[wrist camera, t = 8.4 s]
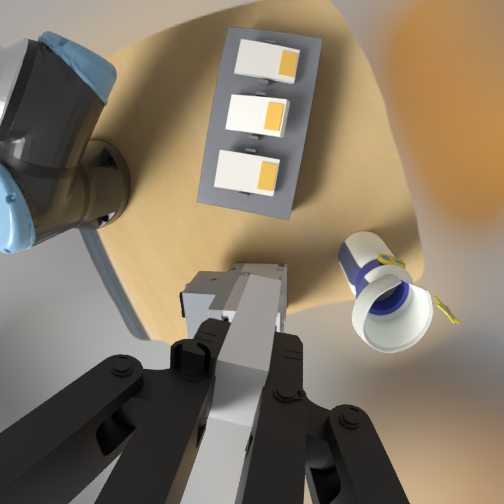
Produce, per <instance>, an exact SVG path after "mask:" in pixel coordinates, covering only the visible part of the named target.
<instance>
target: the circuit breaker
mask: <svg viewBox="0 0 504 504" xmlns="http://www.w3.org/2000/svg"><path fill="white" fill-rule="evenodd" d="M250 274H252V275H257V276H261V277H266V278H271V279H275V280H280V281H281V288H280V295H279V303H278V310H277V317H276V324H275V331H276V332H281V333H284V323H285V321H286V309H287V264H284V266H278V264H255V263H234V264H233V266H232V267H231V269H230V271H229V272H211V271H199V272H198V273H197V275H196V276H195V277H194V278H193V280H192V281H191V282H190V283H189V284H186V285H185V290H184V291H183V292H181V293H180V302H181V308H182V311H181V312H182V317H185V318H186V324H187V331H188V337H189V339H193V338H194V335H195V334H196V332H197V330H198V328H199V326H200V325H201V323H202V322H204V321H205V320H207V319H208V318H214V319H218V320H223V321H227V322H231V323H232V320H233V318H234V315H235V312H236V310H237V307H238V305H239V302H240V299H241V297H242V294H243V292H244V289H245V287H246V284H247V281H248V279H249V276H250Z"/></svg>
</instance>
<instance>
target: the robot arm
mask: <svg viewBox="0 0 504 504" xmlns="http://www.w3.org/2000/svg"><path fill="white" fill-rule="evenodd" d="M116 78H117V72H116V69H115V67H114V66H113V65H112V64H111V63H110V62H108V61H107V60H105V59H104V58H102V57H101V56H99V55H97V54H95V53H94V52H92V51H90V50H89V49H87V48H85V47H83V46H81V45H79V44H77V43H75V42H73V41H70V40H68V39H66V38H64V37H62V36H60V35H58V34H56V33H53V32H50V31H46V32H44V33H43V34H42V35H41V36H39V38H38V41H34V40H30V39H26V38H24V39H22V40H21V41H19V42H17V43H15V44H14V45H12V46H10V47H7V48H4V47H0V251H1V252H3V253H7V254H13V253H16V252H19V251H21V250H24V249H30V248H32V247H33V246H35V245H37V244H39V243H41V242H43V241H45V240H48V239H50V238H52V237H54V236H56V235H58V234H61V233H63V232H65V231H67V230H69V229H72V228H77V229H88V230H93V229H99V228H102V227H104V226H106V225H109V224H111V223H112V222H114V221H115V220H116V219H117V218H118V217H119V216H120V215H121V213H122V212H123V210H124V208H125V206H126V204H127V201H128V197H129V191H130V178H129V172H128V168H127V165H126V163H125V161H124V159H123V157H122V155H121V154H120V153H119V151H118V150H117V149H116V148H115V147H113V146H112V145H111V144H109V143H107V142H104V141H98V140H94V141H89V140H90V137H91V135H92V133H93V130H94V128H95V126H96V123H97V121H98V119H99V117H100V115H101V112H102V110H103V108H104V106H106V105H107V102H108V101H107V99H108V97H109V94H110V92H111V90H112V88H113V86H114V83H115V81H116ZM280 288H281V281H280V280H275V279H271V278H266V277H261V276H257V275H252V274H250V276H249V279H248V281H247V284H246V287H245V289H244V292H243V294H242V297H241V299H240V302H239V305H238V307H237V310H236V312H235V315H234V318H233V320H232V323H231V322H227V321H223V320H218V319H214V318H208V319H207V320H205V321H204V322H202V323H201V325H200V326H199V328H198V330H197V332H196V334H195V335H194V338H193V339H182V340H180V341H177V342H175V343H174V344H173V345H172V346H171V356H170V368H169V369H164V370H151V369H143V367H142V365H141V363H140V361H138V360H137V359H136V358H134V357H132V356H129V355H122V354H120V355H113V356H111V357H108V358H107V359H105V360H104V361H102V362H101V363H99V364H98V365H96V366H95V367H94V368H92V369H91V370H89V371H88V372H86V373H85V374H84V375H82V376H81V377H79V378H78V379H77V380H75V381H74V382H72V383H71V384H69V385H68V386H67V387H65V388H64V389H63V390H61V391H59V392H58V393H57V394H55V395H54V396H53V397H51V398H50V399H48V400H47V401H45V402H44V403H43V404H41V405H40V406H38V407H37V408H35V409H34V410H33V411H31V412H30V413H28V414H27V415H25V416H24V417H23V418H21V419H20V420H19V421H17V422H15V423H14V424H13V425H11V426H10V427H8V428H7V429H5V430H4V431H3V432H1V433H0V504H68V503H69V502H70V501H71V500H72V499H74V498H75V497H76V496H77V495H78V494H79V493H80V492H81V491H82V490H83V489H84V488H85V487H86V486H87V485H89V484H90V483H91V482H92V481H93V480H94V479H95V478H96V477H97V476H98V475H99V474H100V473H101V472H102V471H103V470H104V469H105V468H106V467H107V466H108V465H109V464H110V463H111V462H112V461H113V460H114V459H115V458H116V457H117V456H118V455H119V454H121V453H122V454H121V456H120V458H119V460H118V461H117V463H116V465H115V467H114V468H113V470H112V472H111V474H110V476H109V477H108V479H107V481H106V483H105V485H104V487H103V488H102V490H101V492H100V494H99V496H98V498H97V499H96V501H95V503H94V504H180V502H181V499H182V496H183V493H184V490H185V487H186V485H187V482H188V479H189V476H190V473H191V470H192V467H193V464H194V462H195V459H196V456H197V453H198V450H199V447H200V444H201V441H202V439H203V436H204V433H205V430H206V423H207V419H208V416H209V417H211V418H215V419H218V420H222V421H227V422H231V423H235V424H240V425H244V426H250V427H252V431H251V434H250V437H249V440H248V443H247V446H246V449H245V451H246V454H245V459H244V464H243V468H242V473H241V477H240V482H239V487H238V491H237V496H236V501H235V504H303V501H304V484H305V476H306V479H307V483H308V487H309V491H310V495H311V499H312V503H313V504H410V503H409V501H408V499H407V497H406V494H405V492H404V490H403V488H402V485H401V483H400V481H399V479H398V477H397V474H396V472H395V470H394V468H393V466H392V464H391V462H390V459H389V457H388V455H387V453H386V451H385V449H384V447H383V445H382V443H381V441H380V439H379V436H378V434H377V432H376V430H375V428H374V426H373V424H372V422H371V420H370V418H369V416H368V415H367V414H366V412H364V411H363V410H362V409H360V408H359V407H356V406H353V405H346V404H343V405H339V406H336V407H335V408H333V409H332V410H328V409H325V408H323V407H320V406H318V405H316V404H314V403H313V402H311V401H310V400H309V399H308V398H307V396H306V393H305V391H304V390H303V344H302V342H301V340H300V339H299V337H298V336H296V335H291V334H286V333H281V332H276V331H275V324H276V317H277V310H278V303H279V295H280ZM209 413H210V414H209Z"/></svg>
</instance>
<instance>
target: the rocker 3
mask: <svg viewBox="0 0 504 504" xmlns="http://www.w3.org/2000/svg"><path fill="white" fill-rule="evenodd" d="M279 162H280V160H279V159H274V158H268V157H263V156H257V155H251V154H245V153H239V152H232V151H226V150H220V152H219V158H218V164H217V170H216V177H215V183H214V187H219V188H225V189H232V190H238V191H244V192H250V193H256V194H262V195H268V196H273V194H274V189H275V183H276V178H277V173H278V168H279Z"/></svg>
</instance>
